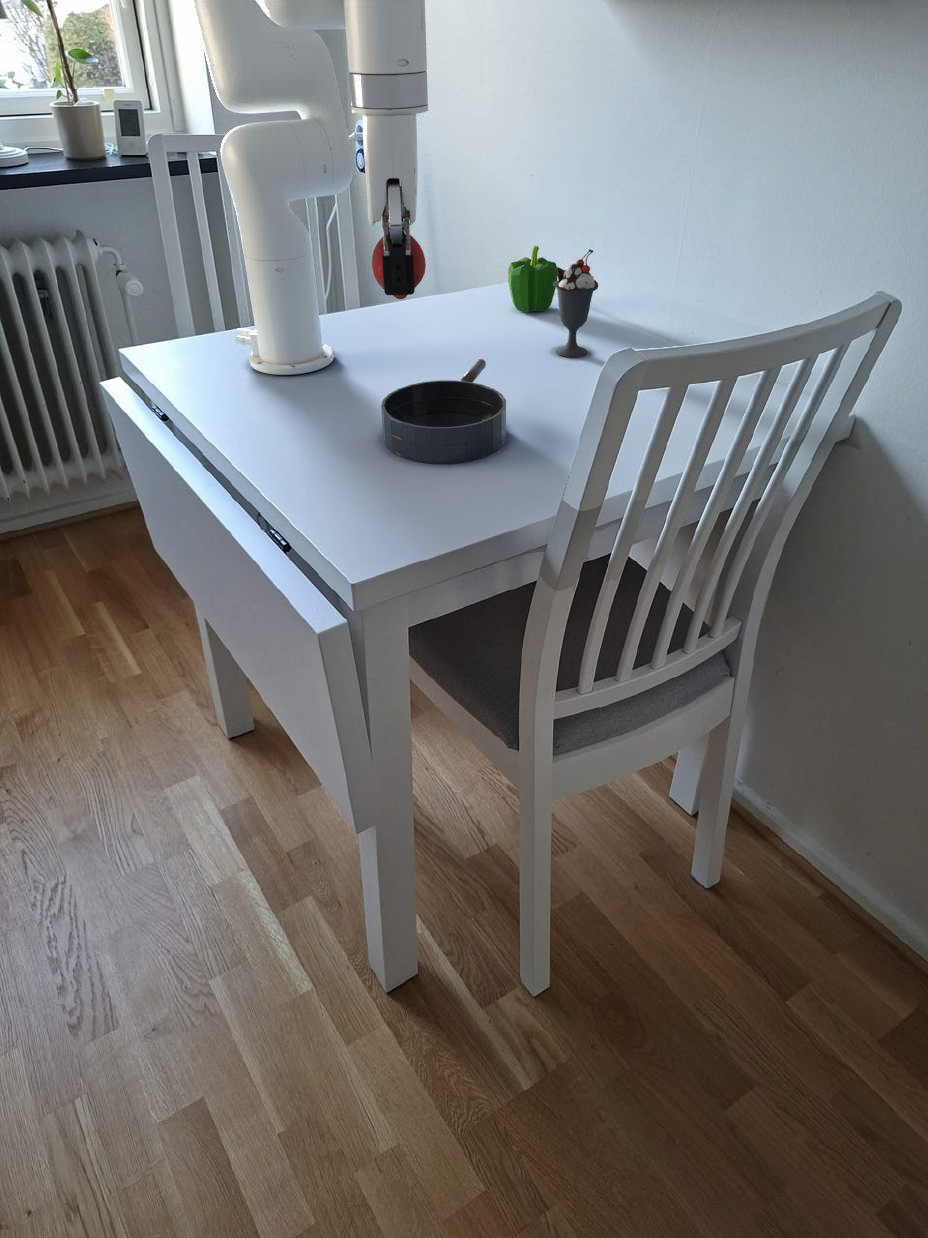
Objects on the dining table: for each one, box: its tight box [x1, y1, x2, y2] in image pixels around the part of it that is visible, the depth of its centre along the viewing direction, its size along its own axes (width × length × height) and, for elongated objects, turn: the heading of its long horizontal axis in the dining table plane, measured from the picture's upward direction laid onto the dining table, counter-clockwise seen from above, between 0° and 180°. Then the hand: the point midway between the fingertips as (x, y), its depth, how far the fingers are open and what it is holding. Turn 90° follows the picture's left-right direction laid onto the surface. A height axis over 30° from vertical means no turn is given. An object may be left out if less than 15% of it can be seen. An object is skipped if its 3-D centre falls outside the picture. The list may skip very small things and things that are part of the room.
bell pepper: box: [507, 245, 558, 313], centre depth 148 cm, size 8×8×10 cm
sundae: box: [553, 248, 599, 358], centre depth 129 cm, size 7×7×15 cm
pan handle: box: [459, 358, 487, 383], centre depth 115 cm, size 9×1×1 cm, turn 163°
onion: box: [371, 230, 427, 300], centre depth 94 cm, size 6×6×8 cm
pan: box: [380, 379, 507, 465], centre depth 107 cm, size 15×15×4 cm
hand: (399, 283), depth 95 cm, fingers closed on onion, 6 cm apart
